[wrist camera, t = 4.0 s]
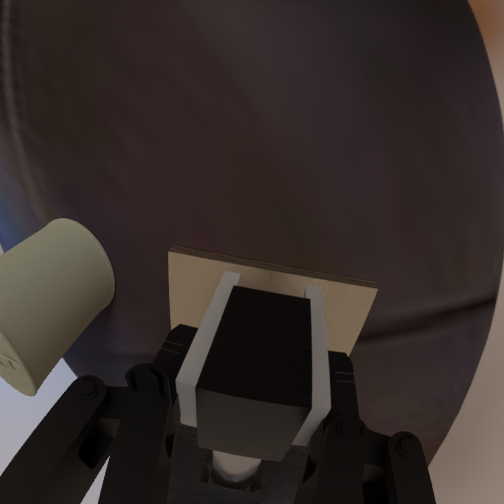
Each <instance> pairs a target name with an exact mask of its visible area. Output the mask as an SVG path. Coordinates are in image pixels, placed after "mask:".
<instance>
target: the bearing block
mask: <svg viewBox="0 0 504 504" xmlns="http://www.w3.org/2000/svg"><path fill="white" fill-rule="evenodd" d="M168 266H169V298H170V318H171V330H172V329H173V328H175V327H176V326H177V325H179V324H184V325H188V326H192V327H196V328H199V326H200V324H201V322H202V320H203V318H204V315H205V313H206V311H207V309H208V307H209V304H210V302H211V300H212V298H213V296H214V293H215V291H216V289H217V287H218V285H219V283H220V280H221V278H222V276H223V274H224V272H225V271H229V272H235V273H240V274H241V278H240V286H241V287H247V288H252V289H257V290H263V291H268V292H274V293H279V294H285V295H291V296H297V297H302V298H303V294H304V291H305V287H306V285H308V286H313V287H319V288H322V294H323V303H324V313H325V324H326V335H327V348H328V350H329V351H337V352H345V353H346V354H347V355H348V357H349V355H350V353H351V351H352V348H353V346H354V344H355V342H356V340H357V338H358V336H359V333H360V331H361V329H362V327H363V325H364V322H365V320H366V318H367V315H368V313H369V311H370V308H371V306H372V303H373V301H374V298H375V296H376V293H377V291H378V287H377V285H376V282H375V281H371V280H365V279H359V278H353V277H348V276H342V275H336V274H331V273H325V272H319V271H313V270H308V269H302V268H297V267H291V266H285V265H280V264H274V263H269V262H263V261H257V260H252V259H246V258H241V257H235V256H230V255H224V254H219V253H214V252H208V251H203V250H197V249H192V248H186V247H181V246H176V245H174V246H173V247H172V248H171V249H170V250H169V251H168ZM176 429H177V437H176V443H175V449H174V455H173V462H172V468H171V475H170V482H169V489H168V496H167V503H166V504H293V502H294V499H295V495H296V492H297V488H298V485H299V481H300V477H301V474H302V470H303V466H304V465H303V466H302V465H300V464H301V462H302V460H303V459H304V457H305V456H306V455H307V454H308V452H309V451H310V441H309V443H308V444H307V446H300V445H291V446H290V447H289V449H288V451H287V452H286V454H285V456H284V457H283V459H282V460H281V462H278V461H270V460H262V461H261V463H260V465H259V467H258V469H257V471H256V473H255V475H254V477H253V479H252V481H251V485H250V490H249V491H242V490H236V489H231V488H226V487H221V486H216V485H211V484H208V480H209V477H210V473H211V471H212V451H213V450H210V449H205V448H201V447H198V438H197V427H193V426H189V425H185V424H182V423H181V420H180V419H179V422H178V425H177V427H176Z"/></svg>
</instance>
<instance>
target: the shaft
mask: <svg viewBox="0 0 504 504" xmlns="http://www.w3.org/2000/svg"><path fill="white" fill-rule="evenodd" d="M195 395H196V419H197V438H198V447H201V448H205V449H210V450H213V451H212V474H211V485H216V486H221V487H226V488H231V489H236V490H242V491H247V489H248V487H249V485H250V483H251V481H252V479H253V477H254V475H255V473H256V471H257V469H258V467H259V465H260V463H261V461H262V460H270V461H278V462H281V460H282V459H283V457H284V456H285V454H286V452H287V451H288V449H289V447H290V446H291V444H292V443H293V441H294V439H295V438H296V436H297V434H298V432H299V431H300V429H301V427H302V425H303V424H304V422H305V420H306V418H307V417H308V415H309V413H310V411H311V409H312V327H311V299H308V298H302V297H297V296H291V295H285V294H279V293H274V292H268V291H263V290H257V289H252V288H247V287H241V286H236V285H233V288H232V291H231V293H230V296H229V298H228V301H227V304H226V306H225V309H224V312H223V314H222V317H221V320H220V322H219V325H218V328H217V330H216V333H215V336H214V338H213V341H212V344H211V346H210V349H209V352H208V355H207V357H206V360H205V363H204V365H203V368H202V371H201V373H200V376H199V379H198V381H197V384H196V387H195Z"/></svg>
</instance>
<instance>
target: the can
mask: <svg viewBox="0 0 504 504" xmlns="http://www.w3.org/2000/svg"><path fill="white" fill-rule="evenodd" d="M114 293H115V277H114V272H113V268H112V265H111V262H110V260H109V258H108V256H107V254H106V252H105V250H104V248H103V247H102V245H101V244H100V242H99V241H98V240H97V239H96V237H95V236H94V235H93V234H92V233H91V232H90V231H89V230H88V229H86V228H85V227H84V226H83V225H81V224H80V223H78V222H76V221H73V220H71V219H66V218H60V219H55V220H53V221H51V222H50V223H49V224H47V226H46V227H44V228H43V229H41V230H40V231H38V232H37V233H35V234H33V235H32V236H30V237H29V238H27V239H26V240H24V241H22V242H21V243H19V244H18V245H16V246H15V247H13V248H12V249H10V250H9V251H7V252H6V253H4V254H3V255H1V256H0V376H1V377H2V378H3V379H4V380H5V381H6V382H7V383H8V384H10V385H11V386H12V387H13V388H15V389H16V390H18V391H19V392H21V393H23V394H25V395H28V396H34V395H35V394H36V393H37V391H38V389H39V388H40V386H41V385H42V383H43V381H44V380H45V379H46V377H47V376H48V375H49V373H50V372H51V371H52V369H53V368H54V367H55V365H56V364H57V363H58V361H59V360H60V359H61V358H62V356H63V355H64V354H65V353H66V351H67V350H68V349H69V348H70V346H71V345H72V344H73V343H74V341H75V340H76V339H77V338H78V337H79V335H80V334H81V333H82V332H83V331H84V330H85V328H86V327H87V326H88V325H89V324H90V323H91V321H92V320H93V319H94V318H95V317H96V316H97V315H98V314H99V313H100V312H101V311H102V310H103V309H104V308H106V307H107V306H108V305H109V304H110V303H111V301H112V299H113V296H114Z"/></svg>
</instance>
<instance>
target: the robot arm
mask: <svg viewBox="0 0 504 504" xmlns="http://www.w3.org/2000/svg"><path fill="white" fill-rule="evenodd" d="M240 278H241V274H240V273H235V272H229V271H225V272H224V274H223V276H222V278H221V280H220V283H219V285H218V287H217V289H216V291H215V293H214V296H213V298H212V300H211V302H210V304H209V307H208V309H207V311H206V313H205V315H204V318H203V320H202V322H201V324H200V326H199V328H196V327H192V326H188V325H184V324H179V325H177V326H176V327H175V328H173V329H172V330H171V331H170V333H169V334H168V336H167V338H166V340H165V342H164V343H163V345H162V347H161V349H160V351H159V353H158V354H157V356H156V358H155V360H154V362H153V364H152V363H142V364H138V365H135V366H133V367H132V368H130V369H129V370H128V372H127V373H126V375H125V377H126V380H127V383H128V386H129V387H112V386H105V384H104V382H103V381H102V380H100V379H99V378H98V377H95V376H92V375H87V376H82V377H79V378H77V379H76V380H75V381H74V382H73V383H72V384H71V385H70V386H69V387H68V389H67V390H66V391H65V392H64V394H63V395H62V396H61V397H60V398H59V400H58V401H57V402H56V403H55V404H54V406H53V407H52V408H51V409H50V411H49V412H48V413H47V415H46V416H45V417H44V418H43V420H42V421H41V422H40V423H39V425H38V426H37V427H36V429H35V430H34V431H33V433H32V434H31V435H30V436H29V438H28V439H27V440H26V442H25V443H24V444H23V446H22V447H21V449H20V450H19V451H18V452H17V454H16V455H15V456H14V458H13V459H12V461H11V462H10V463H9V465H8V466H7V468H6V469H5V471H4V472H3V473H2V475H1V476H0V504H80V503H81V502H82V500H83V498H84V497H85V495H86V493H87V492H88V490H89V488H90V487H91V485H92V483H93V482H94V480H95V478H96V477H97V475H98V473H99V472H100V470H101V469H102V467H103V465H104V464H105V462H106V460H107V459H108V457H109V455H110V458H109V461H108V465H107V469H106V473H105V476H104V480H103V484H102V488H101V492H100V497H99V501H98V504H166V503H167V496H168V489H169V482H170V475H171V468H172V462H173V455H174V449H175V443H176V437H177V429H176V427H177V425H178V422H179V419H180V420H181V423H182V424H185V425H189V426H193V427H197V419H196V395H195V387H196V384H197V381H198V379H199V376H200V373H201V371H202V368H203V365H204V363H205V360H206V357H207V355H208V352H209V349H210V346H211V344H212V341H213V338H214V336H215V333H216V330H217V328H218V325H219V322H220V320H221V317H222V314H223V312H224V309H225V306H226V304H227V301H228V298H229V296H230V293H231V291H232V288H233V285H236V286H240ZM303 298H308V299H311V327H312V409H311V411H310V413H309V415H308V417H307V418H306V420H305V422H304V424H303V425H302V427H301V429H300V431H299V432H298V434H297V436H296V438H295V439H294V441H293V443H292V444H291V445H300V446H307V444H308V443H309V441H310V451H309V452H308V454H307V455H306V456H305V457H304V459H303V460H302V462H301V464H300V465H302V466H303V465H304V466H303V470H302V474H301V477H300V481H299V485H298V488H297V492H296V495H295V499H294V502H293V504H436V502H435V497H434V492H433V488H432V483H431V479H430V475H429V471H428V467H427V463H426V460H425V456H424V452H423V449H422V445H421V443H420V441H419V439H418V438H417V437H416V436H415V435H414V434H412V433H410V432H404V431H401V432H398V433H395V434H394V435H393V436H392V437H390V436H386V435H383V434H379V433H376V432H374V431H371V430H370V429H368V428H367V427H366V425H365V424H364V422H363V421H362V420H361V419H360V417H359V413H358V404H357V396H356V388H355V383H354V382H355V380H354V375H353V366H352V362H351V360H350V358H349V357H348V355H347V354H346V353H345V352H337V351H329V350H328V348H327V335H326V324H325V313H324V303H323V294H322V288H319V287H313V286H308V285H306V287H305V291H304V294H303Z"/></svg>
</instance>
